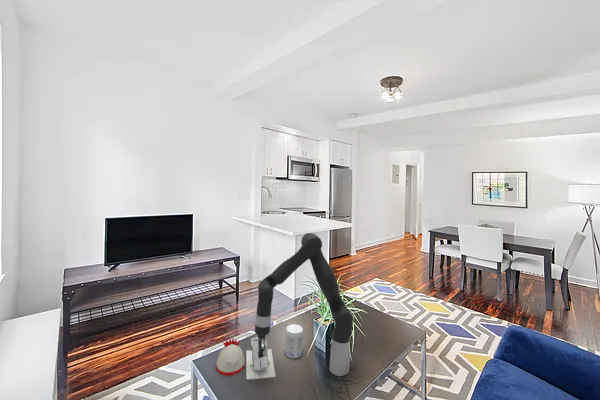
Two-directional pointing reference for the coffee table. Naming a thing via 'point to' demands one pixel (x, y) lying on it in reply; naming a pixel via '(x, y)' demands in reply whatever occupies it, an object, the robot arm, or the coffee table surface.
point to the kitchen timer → (230, 359)
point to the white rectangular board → (259, 374)
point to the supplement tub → (294, 341)
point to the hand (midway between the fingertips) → (260, 356)
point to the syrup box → (257, 362)
